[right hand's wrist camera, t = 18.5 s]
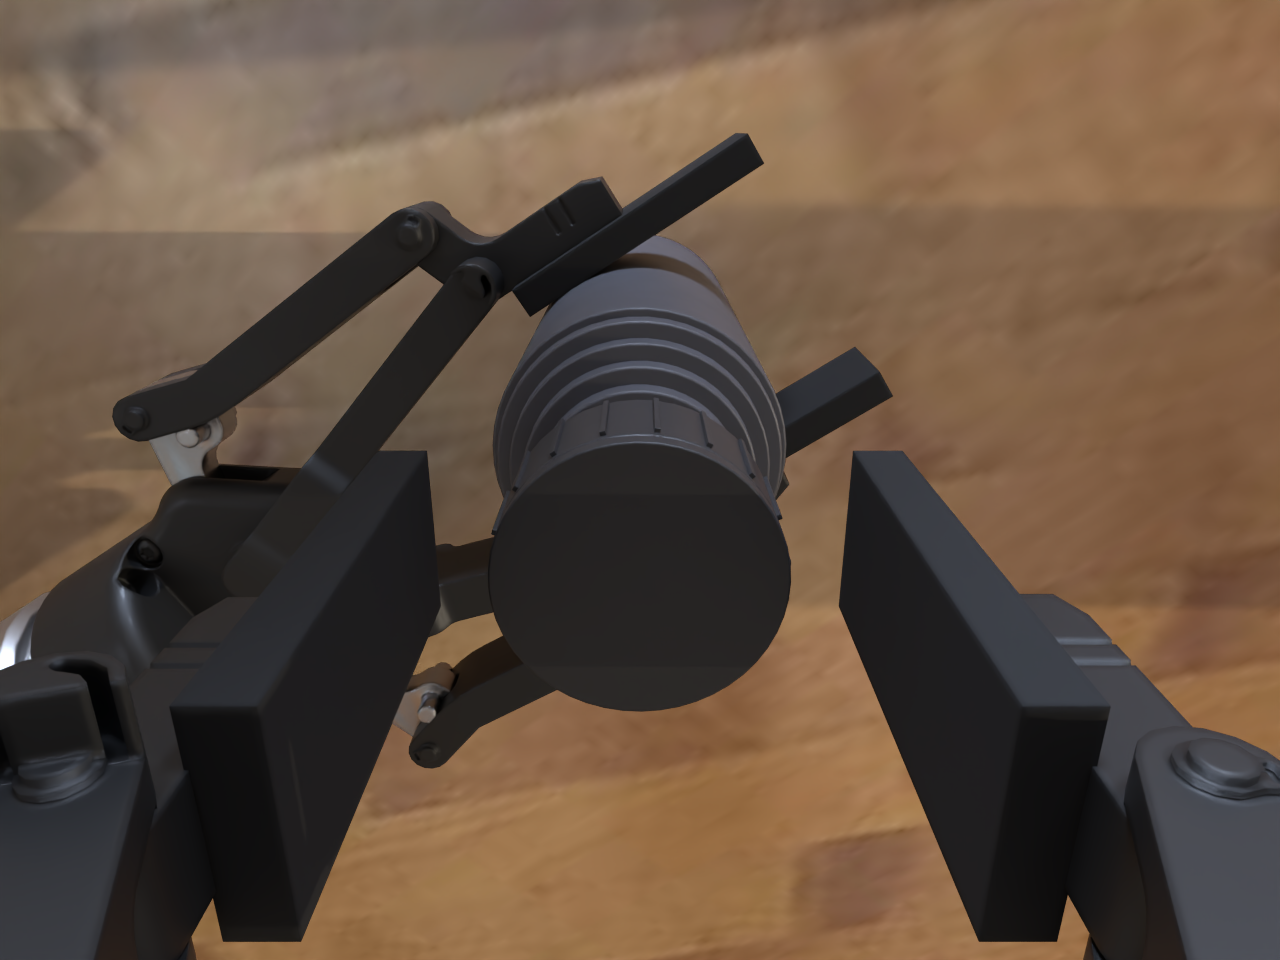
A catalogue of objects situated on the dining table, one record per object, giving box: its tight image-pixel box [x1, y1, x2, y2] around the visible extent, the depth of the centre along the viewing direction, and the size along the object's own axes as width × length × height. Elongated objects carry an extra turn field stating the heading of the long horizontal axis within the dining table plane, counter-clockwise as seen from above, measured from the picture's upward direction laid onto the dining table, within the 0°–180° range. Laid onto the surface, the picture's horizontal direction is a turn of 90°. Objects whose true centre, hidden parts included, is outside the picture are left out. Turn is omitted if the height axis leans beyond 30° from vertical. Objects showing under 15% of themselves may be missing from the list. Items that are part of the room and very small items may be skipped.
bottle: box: [493, 235, 786, 497], centre depth 21 cm, size 6×6×17 cm
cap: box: [488, 398, 791, 711], centre depth 13 cm, size 4×4×2 cm
